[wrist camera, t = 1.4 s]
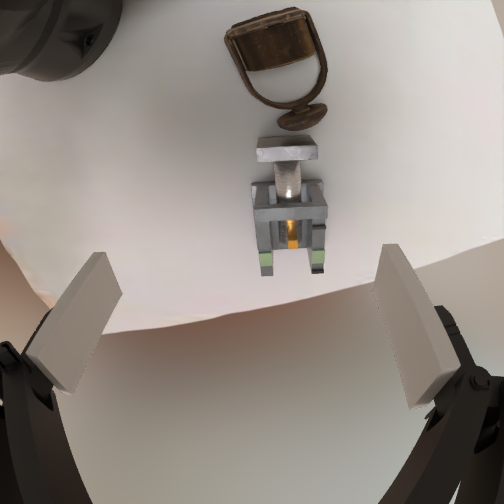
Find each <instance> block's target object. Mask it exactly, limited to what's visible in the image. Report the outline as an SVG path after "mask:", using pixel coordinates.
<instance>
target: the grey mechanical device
mask: <svg viewBox="0 0 504 504" xmlns="http://www.w3.org/2000/svg"><path fill="white" fill-rule="evenodd" d="M256 151H257V161H258V162H270V161H274V171H275V185H276V199H277V204H280V203H300V202H301V173H300V160H314V159H318V147H317V144H316V143H315V142H314V140H313V139H312V138H311V137H310V135H307V136H282V137H266V138H259V139H258V143H257V148H256ZM278 229H279V241H280V242H281V243H283V244H285V245H288V249H298V243H300V242H301V241H302V220H283V221H278Z"/></svg>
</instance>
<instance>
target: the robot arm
mask: <svg viewBox="0 0 504 504" xmlns="http://www.w3.org/2000/svg"><path fill="white" fill-rule="evenodd" d="M121 9H122V0H0V75H4V74H9V73H17V74H20V75H23V76H26V77H30V78H33V79H36V80H39V81H44V82H51V81H59V80H65V79H68V78H71V77H74V76H76V75H77V74H79V73H81V72H82V71H84V70H85V69H86V68H88V67H89V66H90V65H91V64H92V63H93V62H94V61H95V60H96V59H97V58H98V57H99V56H100V55H101V53H102V52H103V51H104V49H105V48H106V47H107V45H108V43H109V42H110V40H111V38H112V36H113V34H114V32H115V30H116V28H117V25H118V22H119V19H120V15H121ZM372 291H373V294H374V297H375V300H376V302H377V305H378V308H379V310H380V313H381V316H382V319H383V322H384V325H385V328H386V331H387V334H388V337H389V339H390V343H391V346H392V349H393V352H394V356H395V359H396V362H397V365H398V369H399V372H400V376H401V380H402V383H403V387H404V390H405V394H406V398H407V402H408V406H409V410H413V409H417V408H422V407H426V406H427V405H428V404H429V403H430V402H431V401H432V400H433V399H434V402H435V405H436V406H435V407H434V408H433V409H432V410H431V411H430V412H429V413H428V414H427V415H426V417H425V419H427V418H429V419H428V421H427V423H426V425H425V427H424V429H423V431H422V433H421V435H420V437H419V439H418V441H417V443H416V445H415V447H414V448H413V450H412V452H411V454H410V455H409V457H408V459H407V461H406V462H405V464H404V466H403V467H402V469H401V471H400V472H399V474H398V476H397V477H396V479H395V480H394V482H393V483H392V485H391V486H390V487H389V489H388V491H387V492H386V493H385V495H384V496H383V498H382V499H381V500H380V502H379V503H378V504H449V502H450V501H451V499H452V497H453V495H454V493H455V491H456V489H457V487H458V485H459V483H460V486H459V490H458V493H457V496H456V500H455V503H454V504H504V377H501V376H491V375H490V374H489V373H488V371H487V370H486V369H484V368H483V367H480V366H476V364H475V363H474V360H473V358H472V356H471V354H470V352H469V349H468V347H467V345H466V343H465V341H464V339H463V337H462V335H461V334H460V331H459V329H458V327H457V326H456V323H455V321H454V319H453V317H452V315H451V314H450V313H449V312H448V311H447V310H446V309H445V308H444V307H443V306H442V305H441V306H433V304H432V302H431V300H430V299H429V297H428V295H427V293H426V291H425V289H424V287H423V286H422V284H421V282H420V280H419V278H418V277H417V275H416V273H415V272H414V270H413V268H412V266H411V265H410V263H409V261H408V260H407V258H406V256H405V255H404V253H403V251H402V250H401V248H400V247H399V245H398V244H383V246H382V251H381V256H380V260H379V265H378V269H377V273H376V277H375V281H374V286H373V290H372ZM121 295H122V291H121V289H120V287H119V284H118V282H117V280H116V277H115V275H114V272H113V270H112V268H111V265H110V263H109V260H108V257H107V255H106V252H94V253H93V254H92V255H91V257H90V258H89V259H88V260H87V262H86V263H85V264H84V266H83V267H82V268H81V270H80V271H79V272H78V274H77V275H76V276H75V278H74V279H73V280H72V282H71V283H70V284H69V286H68V287H67V289H66V290H65V292H64V293H63V294H62V296H61V297H60V299H59V300H58V302H57V303H56V305H55V306H54V307H53V308H52V309H51V310H50V311H49V312H47V313H46V314H45V316H44V317H43V319H42V320H41V322H40V324H39V325H38V327H37V329H36V331H34V333H33V335H32V336H31V338H30V340H29V341H28V343H27V345H26V346H25V348H24V350H23V352H22V353H21V355H20V354H19V353H18V352H17V351H16V349H15V348H14V347H13V345H12V344H11V343H10V342H9V341H4V342H1V343H0V399H1V400H2V401H3V404H2V406H1V405H0V504H93V503H92V501H91V499H90V497H89V495H88V493H87V491H86V488H85V486H84V484H83V481H82V479H81V477H80V474H79V471H78V469H77V466H76V464H75V461H74V458H73V455H72V453H71V450H70V447H69V443H68V440H67V437H66V434H65V431H64V427H63V424H62V420H61V416H60V412H59V408H58V404H57V400H56V395H55V393H54V391H53V390H52V387H53V385H54V386H55V387H56V388H57V389H58V390H59V391H60V392H62V393H65V394H68V395H71V396H73V395H74V393H75V390H76V388H77V386H78V384H79V381H80V379H81V377H82V374H83V372H84V370H85V368H86V365H87V363H88V361H89V359H90V357H91V355H92V352H93V350H94V348H95V346H96V344H97V342H98V340H99V338H100V336H101V334H102V332H103V330H104V328H105V326H106V324H107V322H108V320H109V318H110V316H111V314H112V312H113V310H114V308H115V307H116V305H117V303H118V301H119V299H120V297H121ZM460 481H461V482H460Z"/></svg>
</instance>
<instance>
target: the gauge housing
mask: <svg viewBox="0 0 504 504" xmlns="http://www.w3.org/2000/svg"><path fill="white" fill-rule="evenodd" d="M251 191H252V200H253V209H254V219H255V228H256V237H257V247H258V250H259V262H260V267H261V276H273V250H276V249H288V245H285V244H283V243H281V242H280V241H279V229H278V221H283V220H302V241H301V242H300V243H298V248H307V251H308V256H309V262H310V267H311V273H312V274H319V273H324V269H323V264H324V259H325V249H324V243H325V229H326V225H325V219H326V218H327V204H326V201H325V199H324V197H323V182H322V180H301V202H300V203H280V204H277V199H276V185H275V182H264V183H252V184H251Z"/></svg>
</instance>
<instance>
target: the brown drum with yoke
mask: <svg viewBox="0 0 504 504" xmlns="http://www.w3.org/2000/svg"><path fill="white" fill-rule="evenodd" d="M306 24H307V25H306ZM231 38H232V39H231ZM224 41H225V44H226V46H227V48H228V50H229V52H230V54H231V56H232V58H233V60H234V62H235V64H236V66H237V69H238V71H239V73H240V75H241V77H242V79H243V81H244V84H245V86H246V87H247V89H248V90H249V92H250V93H251V94H252V95H253V96H254V97H255V98H257V99H258V100H260V101H261V102H263V103H264V104H266V105H268V106H271V107H274V108H277V109H292V111H291V112H289V113H287V114H285V115H283V116H282V117H280V118H279V119H278V125H279V126H280V127H281V128H283V129H286V130H290V131H298V130H303V129H307V128H310V127H312V126H314V125H316V124H317V123H319V122H320V120H321V119H322V118H323V117H324V116H325V115H326V113H327V106H326V105H325V104H313V105H308V103H310V102H311V101H313V100H314V99H315V98H316V97H317V96H318V95H319V94H320V92H321V90H322V88H323V86H324V84H325V82H326V77H327V72H328V68H327V61H326V57H325V53H324V50H323V47H322V45H321V42H320V39H319V36H318V33H317V31H316V28H315V26H314V23H313V21H312V18H311V16H310V14H309V13H308V12H307V11H304V10H300V9H298V8H296V7H291V8H286V9H283V10H280V11H274V12H271V13H267V14H264V15H260V16H258V17H254V18H251V19H250V20H246V21H243V22H240V23H237V24H235V25H233V26H232V27H231V29H229V30H227V32H226V35H225V37H224ZM313 43H314V44H313ZM314 46H315V47H314ZM315 49H316V50H315ZM315 51H317V54H318V57H319V60H320V65H321V71H320V74H319V78H318V81H317V84H316V85H315V87H314V88H313V90H312V91H311V92H310V93H309V94H308V95H306V96H305V97H303V98H302V99H299V100H297V101H293V102H289V103H276V102H272V101H270V100H268V99H266V98H264V97H262V96H261V95H260V94H258V92H257V91H256V90H255V89H254V88H253V86H252V84H251V82H250V80H249V78H248V76H247V73H246V71H254V72H255V71H261V70H266V69H271V68H276V67H281V66H284V65H288V64H291V63H293V62H296V61H300V60H303V59H306V58H308V57H310V56H312V55H313V54H314V53H315Z"/></svg>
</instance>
